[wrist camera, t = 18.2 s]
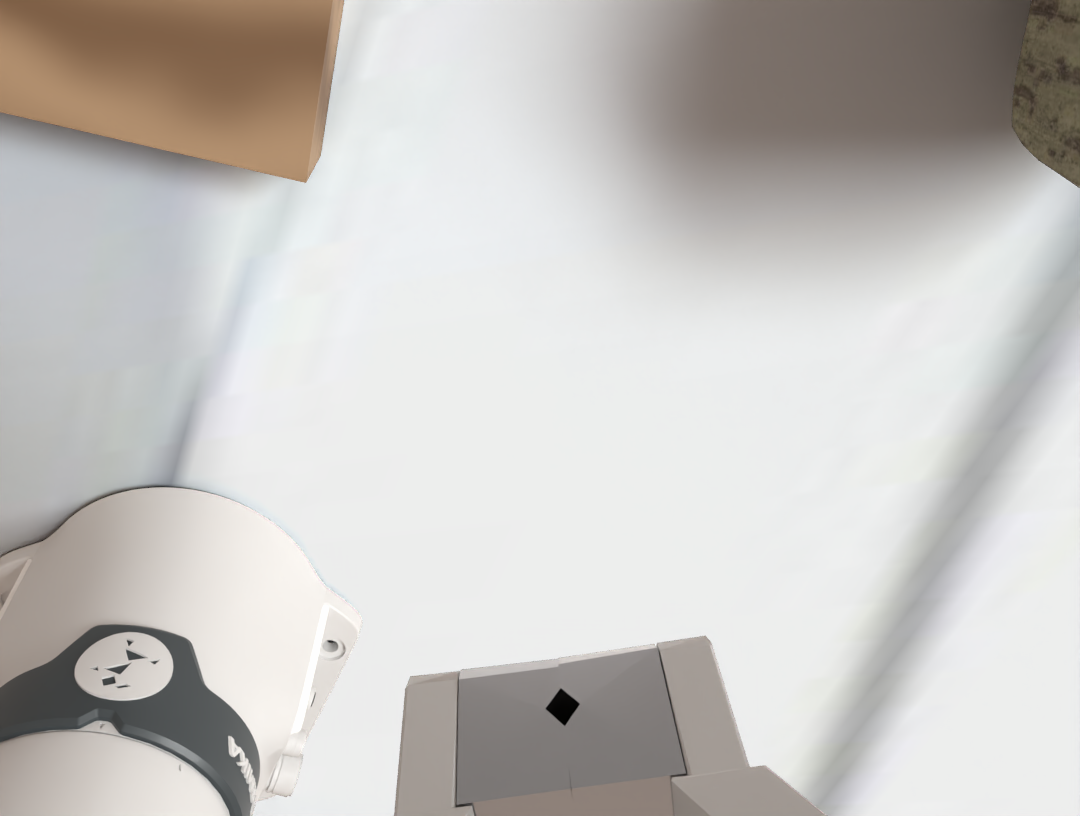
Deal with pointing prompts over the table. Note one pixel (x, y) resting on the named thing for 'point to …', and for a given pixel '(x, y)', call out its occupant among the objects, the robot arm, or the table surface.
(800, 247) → the table surface
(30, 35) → the riser
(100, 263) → the table surface
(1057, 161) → the tabletop clock
